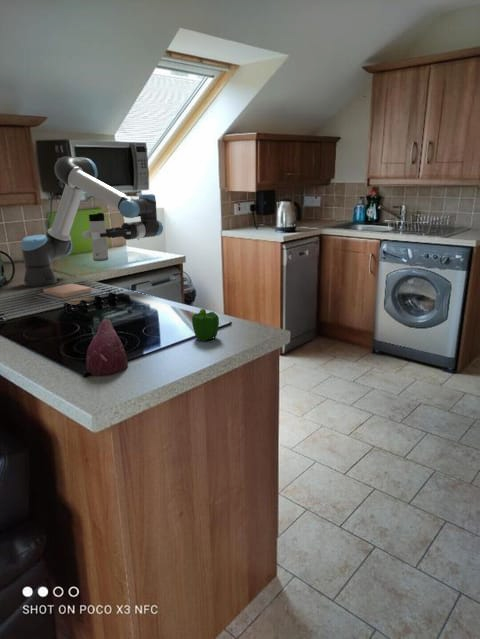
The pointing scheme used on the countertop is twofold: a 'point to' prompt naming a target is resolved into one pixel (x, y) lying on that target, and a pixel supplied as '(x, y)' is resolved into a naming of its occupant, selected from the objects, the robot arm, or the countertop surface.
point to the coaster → (77, 300)
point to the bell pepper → (205, 324)
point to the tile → (67, 290)
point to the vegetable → (106, 352)
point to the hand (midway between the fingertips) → (87, 235)
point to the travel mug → (98, 244)
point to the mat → (69, 297)
